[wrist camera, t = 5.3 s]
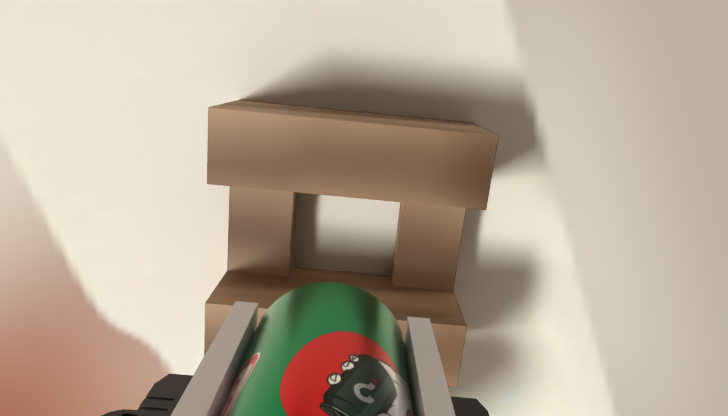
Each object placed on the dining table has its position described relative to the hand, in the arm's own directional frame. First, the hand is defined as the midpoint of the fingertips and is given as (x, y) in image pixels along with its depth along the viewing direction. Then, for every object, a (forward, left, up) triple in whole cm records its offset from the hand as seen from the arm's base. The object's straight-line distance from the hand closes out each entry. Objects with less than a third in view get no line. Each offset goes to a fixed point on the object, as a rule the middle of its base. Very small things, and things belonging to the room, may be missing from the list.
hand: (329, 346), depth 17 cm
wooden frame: (0, 0, -15) cm, 15 cm away
